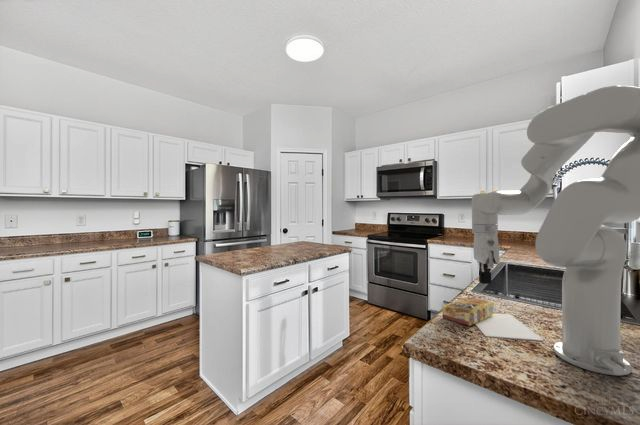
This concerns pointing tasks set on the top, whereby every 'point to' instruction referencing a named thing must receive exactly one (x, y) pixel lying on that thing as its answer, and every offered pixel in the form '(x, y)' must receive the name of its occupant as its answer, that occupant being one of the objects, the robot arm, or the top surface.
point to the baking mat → (505, 328)
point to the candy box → (468, 310)
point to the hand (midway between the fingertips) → (485, 282)
